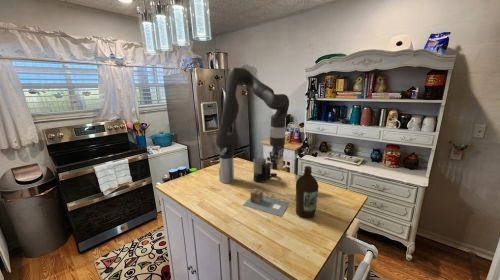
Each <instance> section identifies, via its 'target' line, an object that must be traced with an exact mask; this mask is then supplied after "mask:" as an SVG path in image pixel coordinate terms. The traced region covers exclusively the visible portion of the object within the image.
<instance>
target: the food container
mask: <svg viewBox="0 0 500 280" xmlns="http://www.w3.org/2000/svg"><path fill="white" fill-rule="evenodd" d="M302 175H303V174H301V175H300V174H297V173H295V174H294V179H295V183H296V182H297V180H298V179H299V178H300V177H301V176H302ZM313 177H314V178H315V176H313ZM315 179H316V178H315Z"/></svg>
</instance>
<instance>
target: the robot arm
mask: <svg viewBox="0 0 500 280" xmlns="http://www.w3.org/2000/svg"><path fill="white" fill-rule="evenodd" d="M226 84H227V85H226V93H225V98H224V99H225V100H224V103H223V107H222V108H223V109H222V114H221V120H220V124H219V128H218V130H217V134H216V137H215V144H216V146H217V148H219V149H223V150H221V151H220V152H219V167H218V175H219V176H218V177H219V181H220V182H221V183H222V184H230V183H233V182H234V181H235V166H234V165H235V164H234V163H235V162H234V154H235V137H234V134H233V133H231V132H229V130H230V128H231V127H232V126H233V124H234V123H235V121H236V120H237V117H238V115H239V110H240V106H239V105H240V104H239V101H238V98H237V88H238V86H246V87H249V88H250V89H251V91H252V92H253V94H254V95H255V96H256V97H258V98H259V99H261V100H262V101H263V102H264V103H265V105H266V106H267V107H268V108H269V109H270V110H274V111H275V113H273V114H272V115H271V116H270V128H269V129H270V131H269V145H270V146H272V150H271V151H269V160H270V161H269V162H270V163H271V162H273V167H272V169H271V170H273V169H274V171H278V170H277V159H278V158H279V156H283V157H284V152H285V151H284V150H285V145H286V119H287V116H288V115H287V114H288V111H289V107H290V98H289V97H288V95H287V94H284V93H278V94H276V93H275V92H274V89H272V88H271V87H270V86H268V85H267V84H265V83H263V82H262V81H260V80H259V79H257V77H255V76H254V75H253V74H252V73H251V72H250V71H249V70H248V69H246V68H244V67H243V68H242V67H231V68H230V70H229V71H228V75H227V82H226ZM276 156H277V157H276Z"/></svg>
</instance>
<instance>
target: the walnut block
mask: <svg viewBox="0 0 500 280" xmlns="http://www.w3.org/2000/svg"><path fill="white" fill-rule="evenodd" d="M263 196H264V191H263V190H262V189H259V188H253V190H251V191H250V197H251V202H252V203H255V204H259V203H260V202H261V201H262V200H263Z"/></svg>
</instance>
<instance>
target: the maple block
mask: <svg viewBox="0 0 500 280" xmlns="http://www.w3.org/2000/svg"><path fill="white" fill-rule="evenodd" d="M276 157H277V156H276ZM269 166H270V169H271V170H274V169H272V167H273V162H270V164H269ZM282 169H284V155H283V156H279V158H278V159H277V170H276V171H279V172H280V171H281V170H282ZM274 171H275V170H274Z"/></svg>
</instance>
